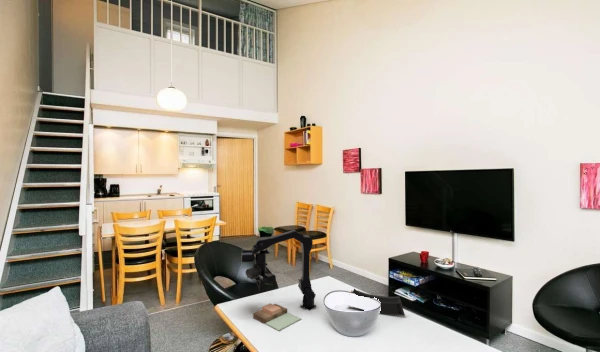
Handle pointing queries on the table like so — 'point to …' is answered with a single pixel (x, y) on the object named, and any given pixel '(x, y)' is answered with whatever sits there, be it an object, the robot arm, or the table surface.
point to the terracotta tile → (271, 309)
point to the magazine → (386, 303)
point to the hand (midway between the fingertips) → (260, 290)
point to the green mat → (283, 321)
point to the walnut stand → (268, 315)
